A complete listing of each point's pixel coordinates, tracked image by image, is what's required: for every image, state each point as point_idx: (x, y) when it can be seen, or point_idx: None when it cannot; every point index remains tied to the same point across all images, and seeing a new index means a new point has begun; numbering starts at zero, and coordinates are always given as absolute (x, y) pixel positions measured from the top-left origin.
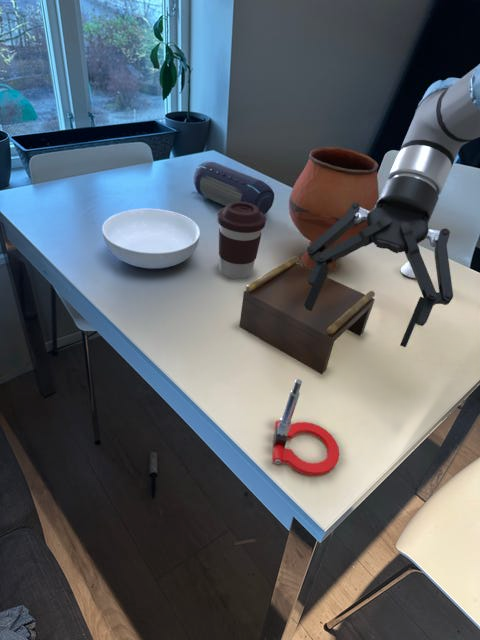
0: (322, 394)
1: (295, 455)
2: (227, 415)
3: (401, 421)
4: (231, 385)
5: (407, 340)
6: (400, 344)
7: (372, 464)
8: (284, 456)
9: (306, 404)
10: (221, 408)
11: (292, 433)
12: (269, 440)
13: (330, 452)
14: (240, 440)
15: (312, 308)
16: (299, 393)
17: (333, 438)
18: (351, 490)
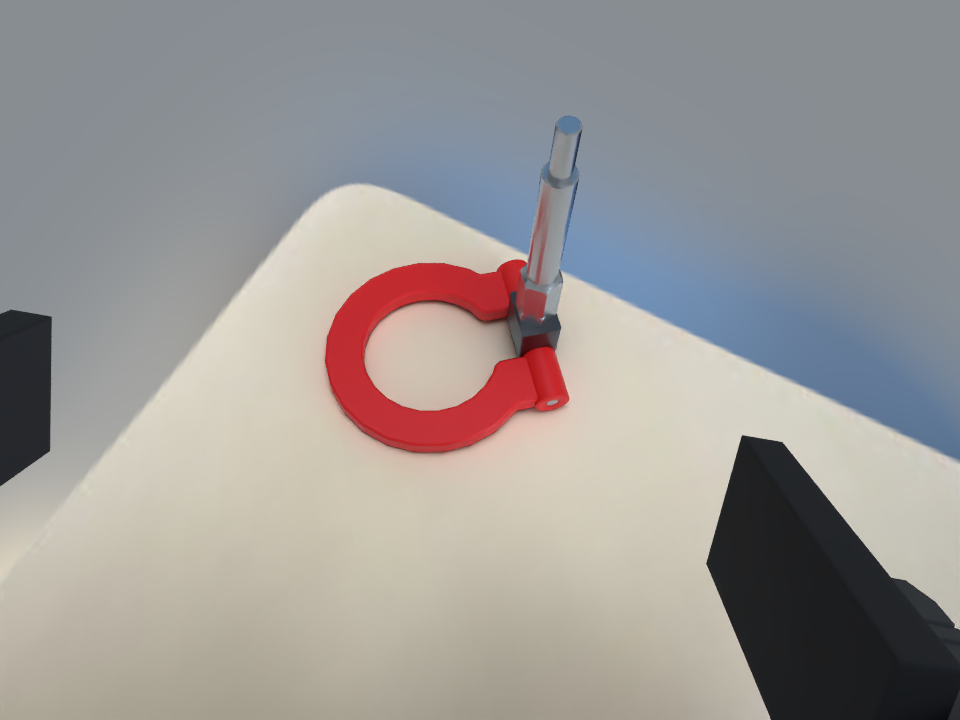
0: (429, 655)
1: (466, 298)
2: (730, 393)
3: (58, 644)
4: None
5: (2, 316)
6: (48, 409)
7: (205, 384)
8: (498, 282)
9: (483, 563)
10: (763, 413)
11: (499, 370)
12: (560, 350)
13: (356, 352)
14: (644, 319)
15: (712, 572)
16: (543, 175)
17: (353, 411)
18: (275, 275)
